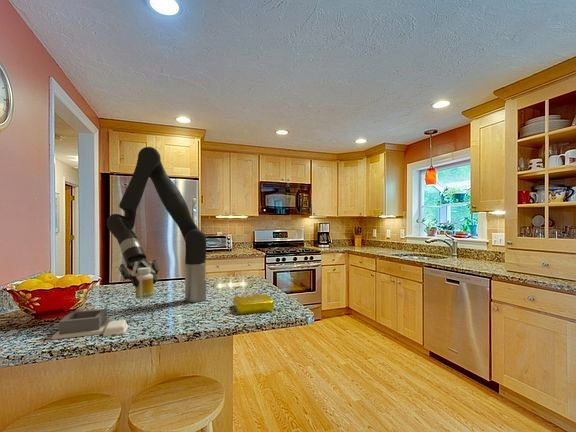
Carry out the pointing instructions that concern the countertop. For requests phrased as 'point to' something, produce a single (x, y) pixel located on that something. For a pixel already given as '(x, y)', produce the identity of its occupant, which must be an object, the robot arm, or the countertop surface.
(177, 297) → the countertop surface
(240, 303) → the element tile
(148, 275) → the supplement bottle
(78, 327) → the pocket plate
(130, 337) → the countertop surface
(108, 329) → the soap
